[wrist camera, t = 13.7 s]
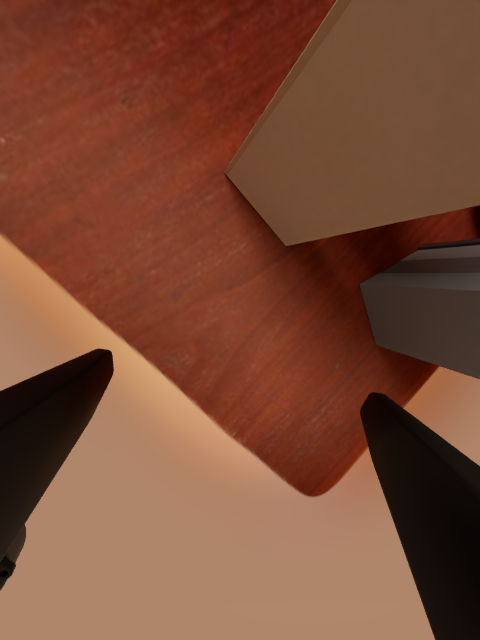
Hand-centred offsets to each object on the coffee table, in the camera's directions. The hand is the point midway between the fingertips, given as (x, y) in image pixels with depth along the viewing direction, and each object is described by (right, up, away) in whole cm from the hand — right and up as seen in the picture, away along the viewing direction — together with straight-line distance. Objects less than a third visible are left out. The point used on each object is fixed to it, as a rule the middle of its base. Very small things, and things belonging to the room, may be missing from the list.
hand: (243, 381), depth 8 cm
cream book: (+2, +11, +9) cm, 14 cm away
